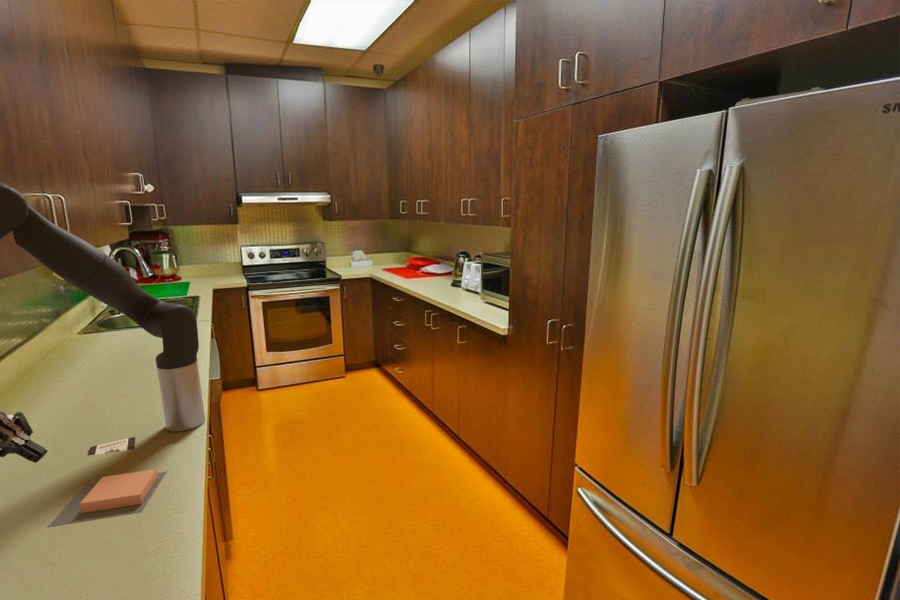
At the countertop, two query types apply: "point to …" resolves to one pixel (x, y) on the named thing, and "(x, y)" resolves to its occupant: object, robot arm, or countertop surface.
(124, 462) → the countertop surface
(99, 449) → the chocolate bar
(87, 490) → the mat
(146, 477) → the tile
